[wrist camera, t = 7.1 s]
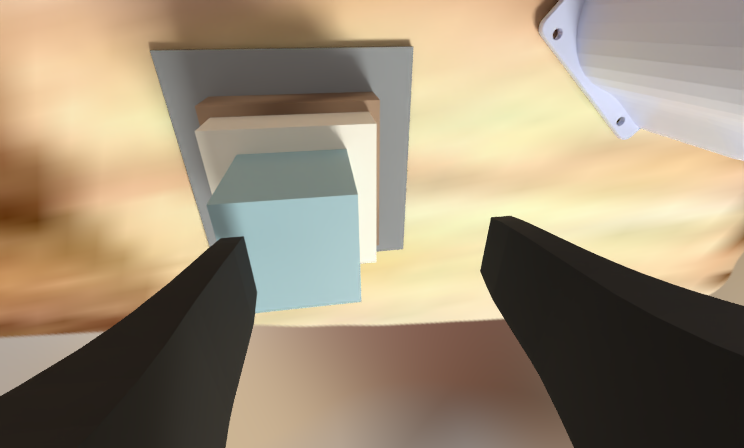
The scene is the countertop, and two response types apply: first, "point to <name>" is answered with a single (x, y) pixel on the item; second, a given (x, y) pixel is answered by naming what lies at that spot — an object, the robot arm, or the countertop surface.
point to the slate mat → (295, 76)
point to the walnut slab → (296, 112)
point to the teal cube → (293, 226)
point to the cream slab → (300, 134)
